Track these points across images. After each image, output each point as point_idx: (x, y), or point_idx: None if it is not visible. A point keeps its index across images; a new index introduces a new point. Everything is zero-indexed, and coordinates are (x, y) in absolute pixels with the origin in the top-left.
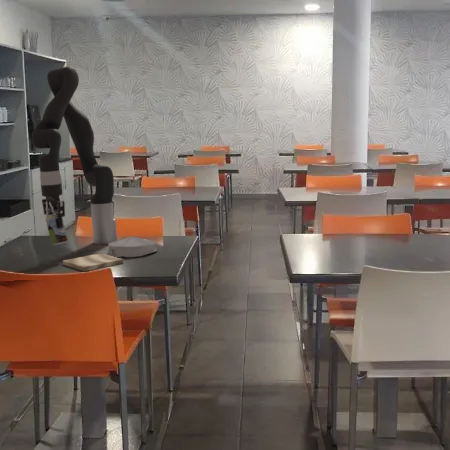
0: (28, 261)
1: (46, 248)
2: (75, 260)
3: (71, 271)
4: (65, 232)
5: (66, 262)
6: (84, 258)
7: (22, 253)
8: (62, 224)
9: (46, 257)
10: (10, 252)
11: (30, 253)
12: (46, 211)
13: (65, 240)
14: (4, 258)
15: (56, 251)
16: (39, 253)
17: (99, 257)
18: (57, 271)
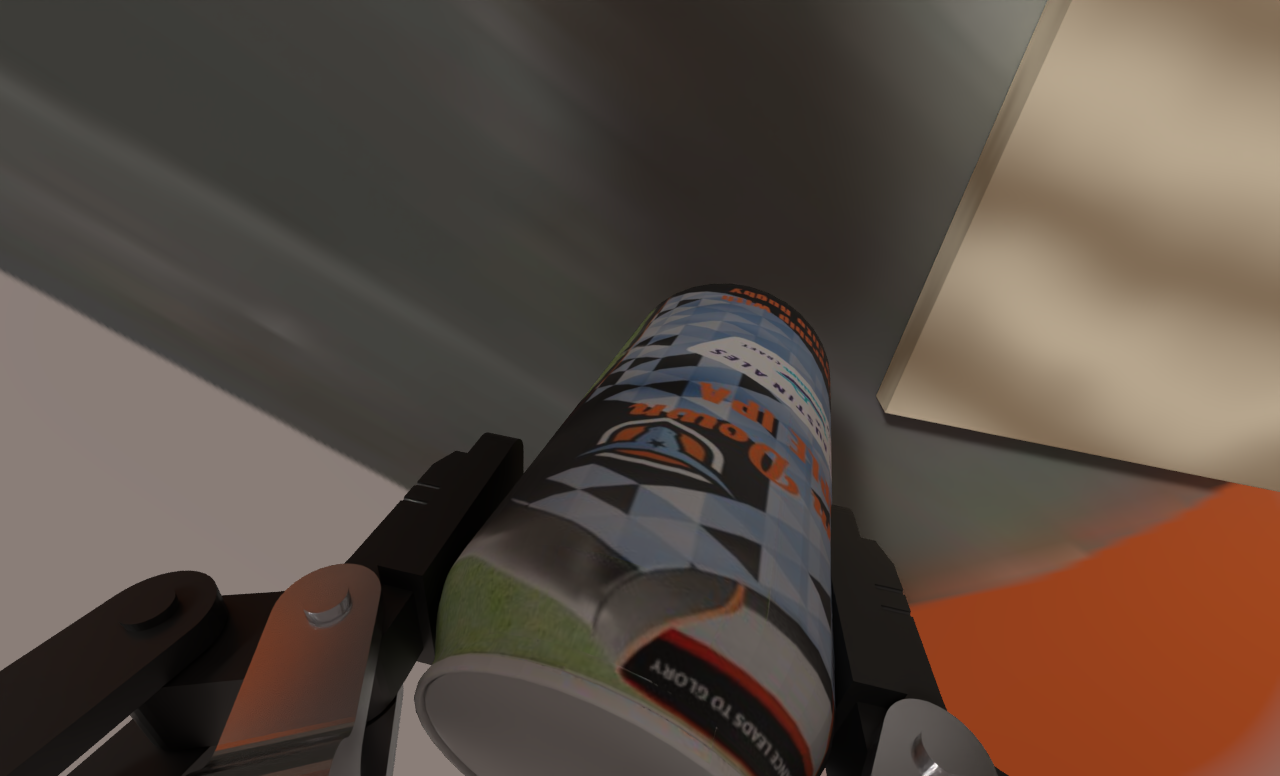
0: (540, 440)
1: (149, 47)
2: (1014, 362)
3: (1123, 505)
4: (803, 373)
5: (952, 423)
6: (1060, 259)
7: (249, 304)
8: (864, 545)
9: (524, 299)
10: (164, 327)
11: (286, 273)
12: (176, 741)
13: (828, 368)
14: (335, 451)
15: (351, 79)
16: (333, 233)
17: (1253, 122)
18: (997, 538)
